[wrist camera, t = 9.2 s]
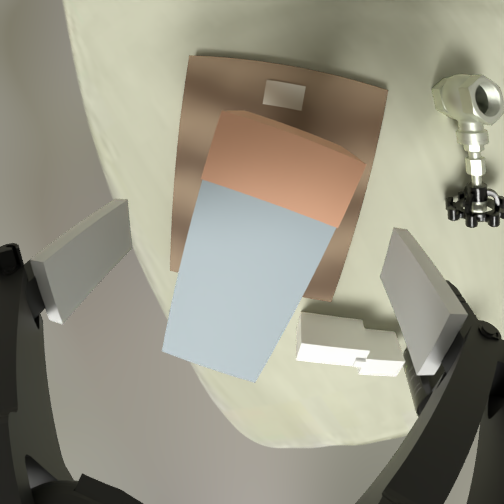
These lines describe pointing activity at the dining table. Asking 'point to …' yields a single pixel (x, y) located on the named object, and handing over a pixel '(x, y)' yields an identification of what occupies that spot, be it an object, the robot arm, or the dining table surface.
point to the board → (282, 110)
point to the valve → (472, 142)
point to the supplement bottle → (420, 383)
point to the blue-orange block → (255, 240)
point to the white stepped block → (347, 344)
